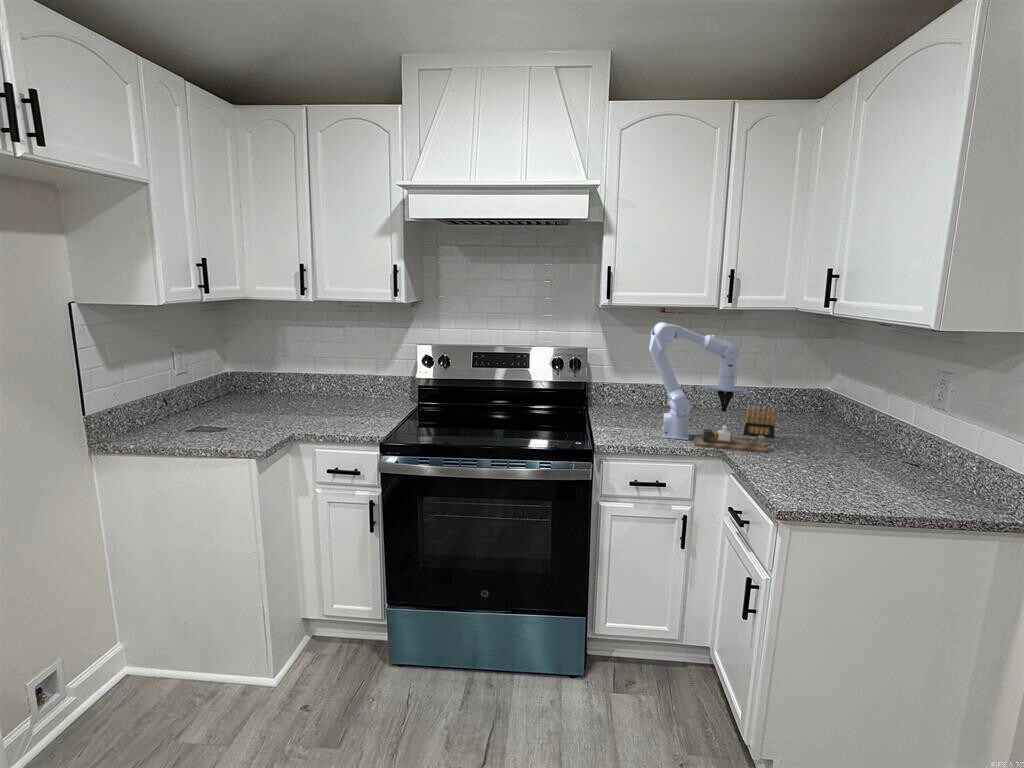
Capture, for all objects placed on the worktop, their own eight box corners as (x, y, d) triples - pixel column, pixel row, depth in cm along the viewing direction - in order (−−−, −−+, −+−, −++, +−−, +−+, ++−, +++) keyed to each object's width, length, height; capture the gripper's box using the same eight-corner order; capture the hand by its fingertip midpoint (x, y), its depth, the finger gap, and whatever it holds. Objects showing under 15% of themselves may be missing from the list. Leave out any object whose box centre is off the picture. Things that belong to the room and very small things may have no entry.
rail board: (694, 446, 199) (695, 432, 198) (694, 439, 208) (695, 426, 207) (767, 453, 193) (768, 438, 192) (763, 445, 201) (764, 432, 200)
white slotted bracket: (718, 439, 199) (719, 427, 198) (717, 437, 202) (718, 424, 202) (729, 440, 198) (731, 428, 197) (729, 438, 201) (730, 425, 200)
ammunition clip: (773, 437, 212) (776, 406, 210) (773, 438, 210) (777, 407, 208) (743, 434, 216) (746, 404, 213) (743, 435, 214) (746, 405, 212)
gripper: (706, 376, 204) (703, 412, 206) (749, 378, 200) (745, 415, 202) (705, 373, 210) (702, 407, 213) (746, 375, 206) (743, 410, 209)
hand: (723, 411), depth 208 cm, fingers closed
